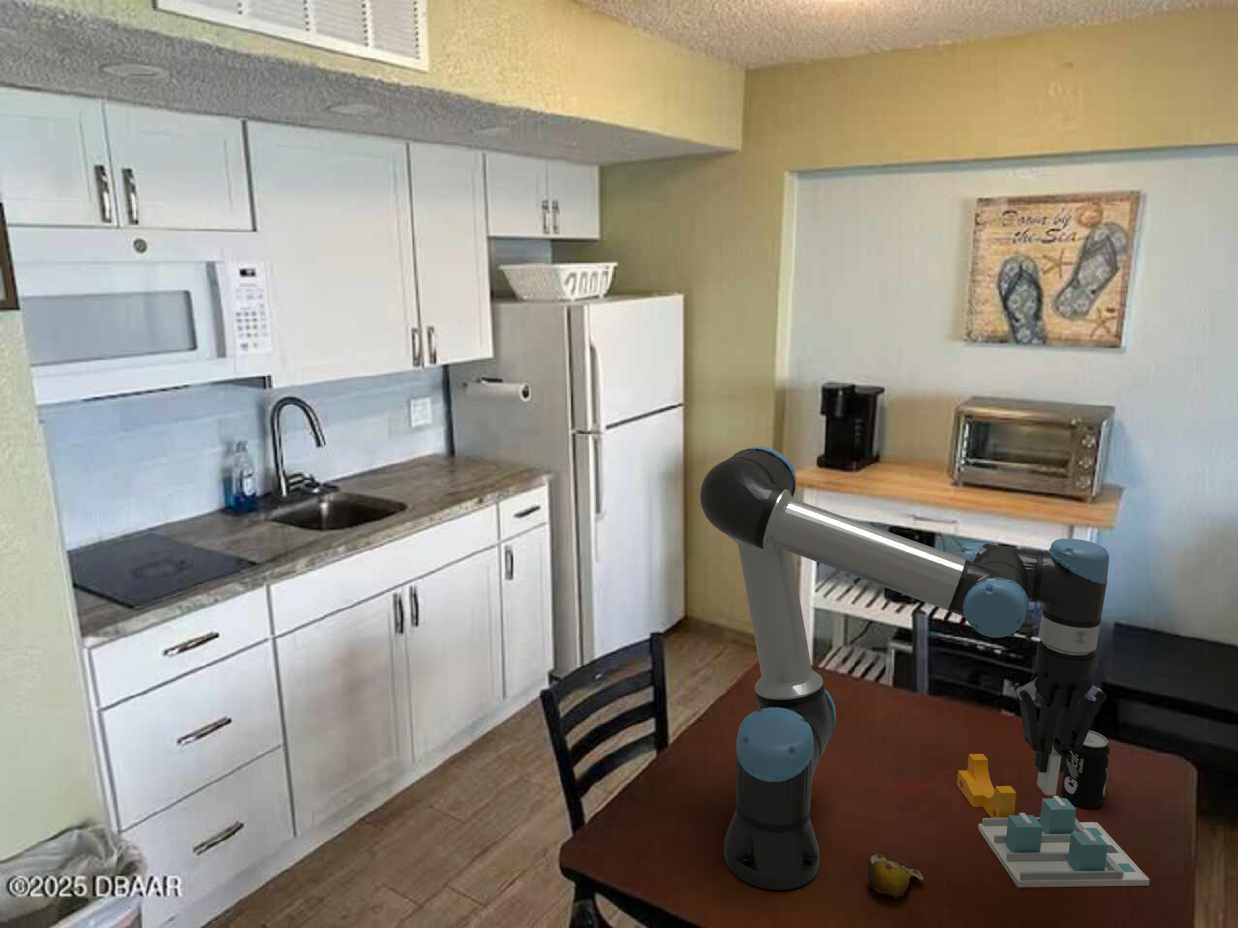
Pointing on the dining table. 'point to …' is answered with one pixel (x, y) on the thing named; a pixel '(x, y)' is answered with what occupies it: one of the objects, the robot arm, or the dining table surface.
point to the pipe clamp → (985, 789)
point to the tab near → (1087, 851)
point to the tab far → (1057, 816)
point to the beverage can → (1087, 772)
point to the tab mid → (1023, 833)
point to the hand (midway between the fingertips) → (1046, 789)
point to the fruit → (890, 876)
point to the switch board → (1060, 859)
